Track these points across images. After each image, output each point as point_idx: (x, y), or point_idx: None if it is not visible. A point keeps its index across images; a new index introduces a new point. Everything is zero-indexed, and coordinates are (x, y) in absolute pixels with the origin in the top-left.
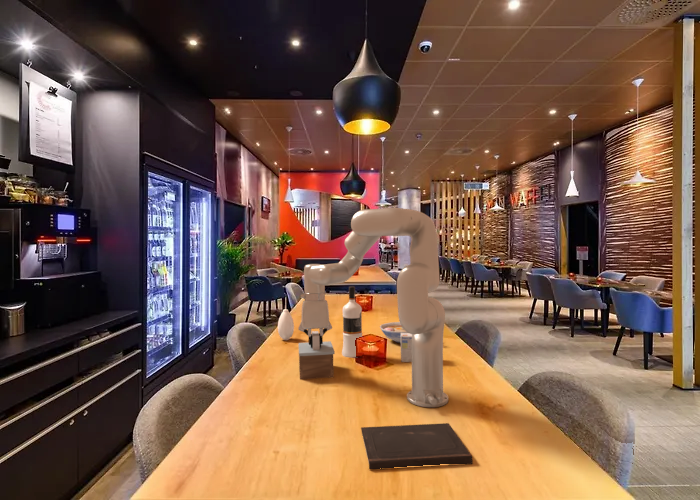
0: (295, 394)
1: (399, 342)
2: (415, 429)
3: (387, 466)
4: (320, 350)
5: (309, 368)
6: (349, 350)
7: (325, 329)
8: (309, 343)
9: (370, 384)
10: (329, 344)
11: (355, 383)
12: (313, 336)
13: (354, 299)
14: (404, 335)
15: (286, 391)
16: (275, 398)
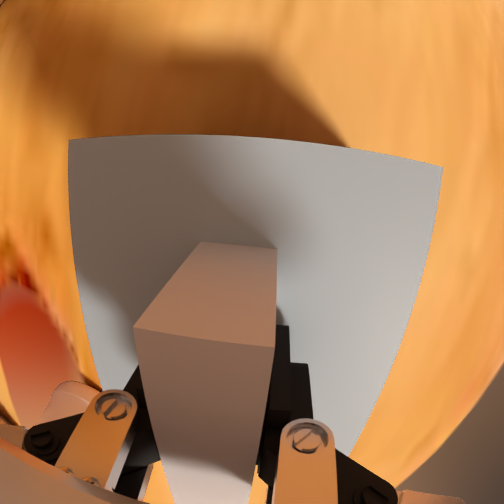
0: (388, 9)
1: (8, 423)
2: None
3: None
4: (194, 203)
5: None
6: (84, 411)
7: (36, 444)
8: (301, 368)
9: (47, 70)
10: (112, 373)
11: (90, 80)
12: (258, 344)
13: None
14: None
15: (427, 56)
16: (459, 13)
